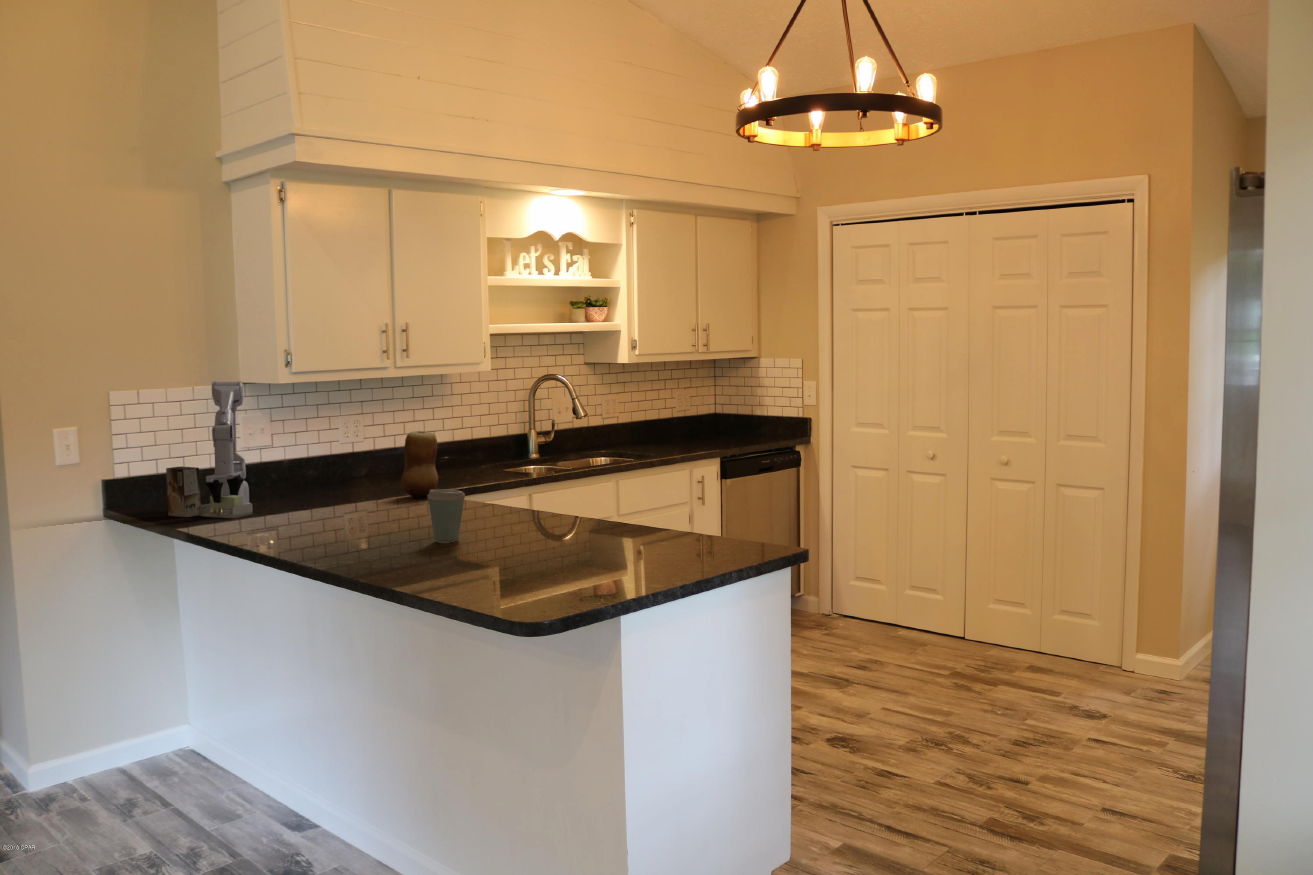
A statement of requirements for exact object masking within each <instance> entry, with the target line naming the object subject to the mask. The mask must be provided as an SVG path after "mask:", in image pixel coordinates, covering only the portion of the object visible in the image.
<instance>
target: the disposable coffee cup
mask: <svg viewBox="0 0 1313 875" xmlns="http://www.w3.org/2000/svg"><path fill="white" fill-rule="evenodd" d="M465 498H466V494H465V493H464V491H462V490H457V489H435V490H430V491H429V494H428V496H427V499H428V505H429V511H430V519H431V526H432V531H433V532H432V534H433V538H434V542H435V543H437V542H438V544H451V543H450V542H454V543H456V542H455V541H457V542H458V539H459V536H460V530H461V523H462V516H463V511H464V510H463V509H464V503H465Z"/></svg>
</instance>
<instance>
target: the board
mask: <svg viewBox="0 0 1313 875" xmlns="http://www.w3.org/2000/svg"><path fill="white" fill-rule="evenodd" d="M209 504H210V508H219V509H222V510H230V508H231V507H236V506H241V505H243V496H236V495H221V502H220V503H214V501H213V498H212V495H210V496H209Z"/></svg>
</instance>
